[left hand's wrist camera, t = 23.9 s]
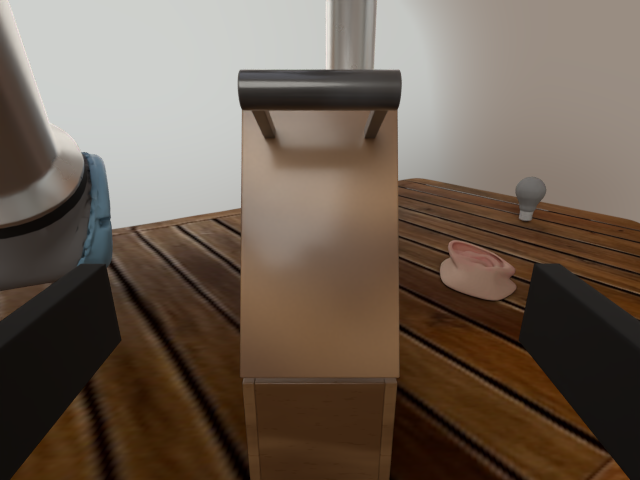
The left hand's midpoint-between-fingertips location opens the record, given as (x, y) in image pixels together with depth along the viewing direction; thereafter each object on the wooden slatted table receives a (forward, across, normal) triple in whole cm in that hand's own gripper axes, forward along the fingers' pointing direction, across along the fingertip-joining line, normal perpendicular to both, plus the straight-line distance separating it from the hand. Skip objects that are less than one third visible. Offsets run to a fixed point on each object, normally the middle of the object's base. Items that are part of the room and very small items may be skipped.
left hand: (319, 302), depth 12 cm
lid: (+13, 0, -3) cm, 14 cm away
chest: (+18, 0, -22) cm, 28 cm away
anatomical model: (+45, +24, -22) cm, 56 cm away
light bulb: (+76, +47, -22) cm, 91 cm away
